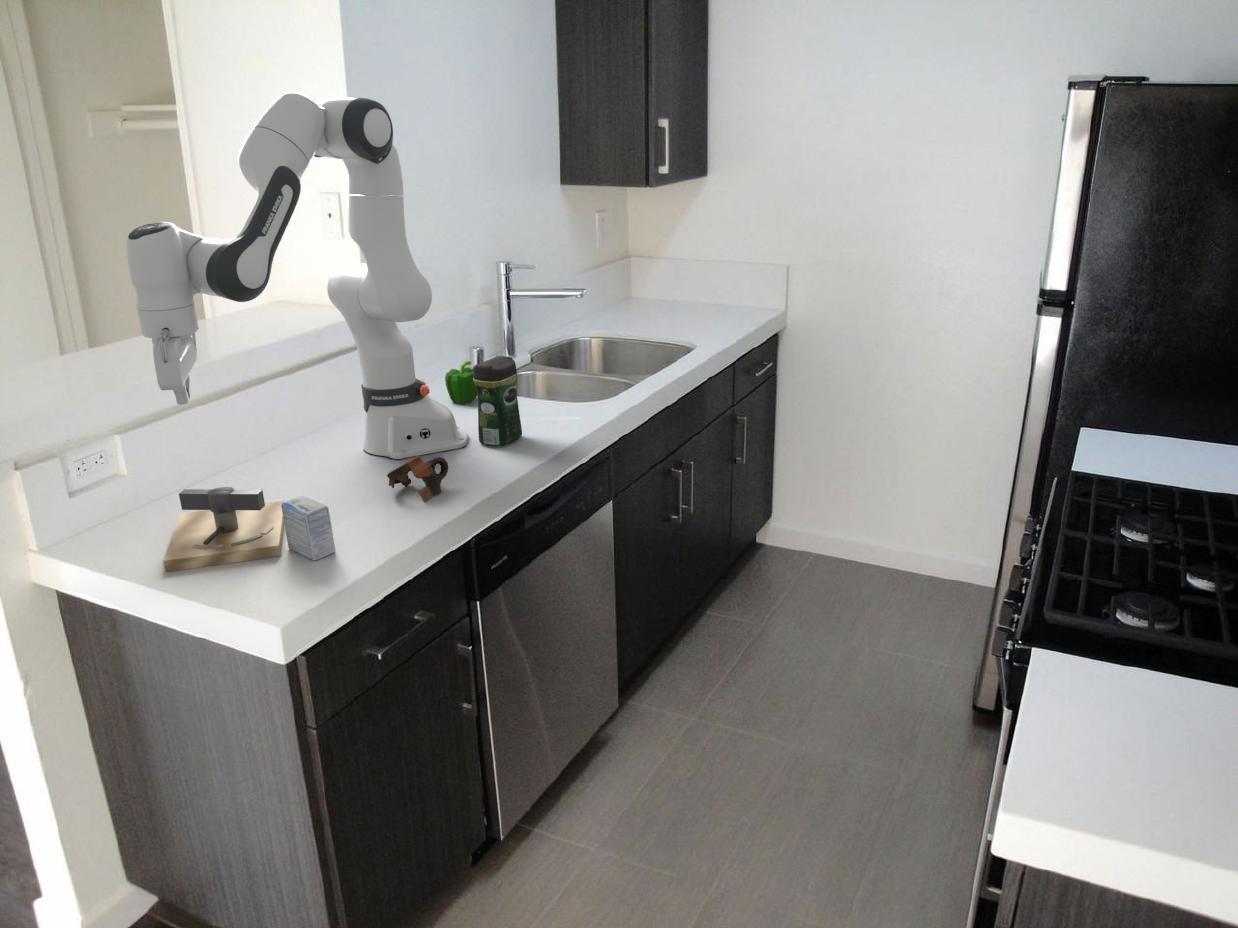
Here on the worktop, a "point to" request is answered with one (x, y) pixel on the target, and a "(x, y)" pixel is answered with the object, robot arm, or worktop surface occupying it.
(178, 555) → the tuner board
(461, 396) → the bell pepper
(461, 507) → the worktop surface
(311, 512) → the medicine box
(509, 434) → the coffee jar
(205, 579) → the worktop surface
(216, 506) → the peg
